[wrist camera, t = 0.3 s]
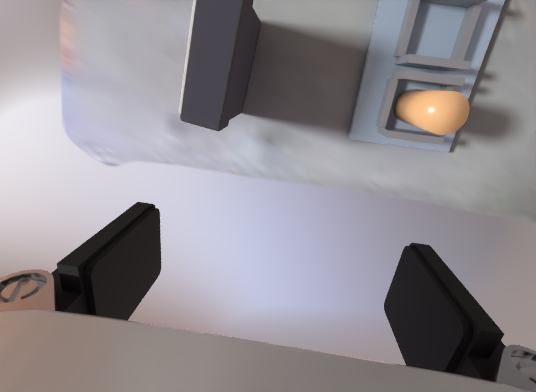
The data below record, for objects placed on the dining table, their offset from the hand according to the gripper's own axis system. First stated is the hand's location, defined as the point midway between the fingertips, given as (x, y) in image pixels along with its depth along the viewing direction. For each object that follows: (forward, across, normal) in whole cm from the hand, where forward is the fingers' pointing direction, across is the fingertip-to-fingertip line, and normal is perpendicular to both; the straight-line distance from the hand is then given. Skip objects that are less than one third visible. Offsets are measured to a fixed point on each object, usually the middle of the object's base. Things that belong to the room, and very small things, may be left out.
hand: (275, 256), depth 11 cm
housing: (+30, -15, -9) cm, 35 cm away
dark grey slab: (+30, +7, -7) cm, 32 cm away
